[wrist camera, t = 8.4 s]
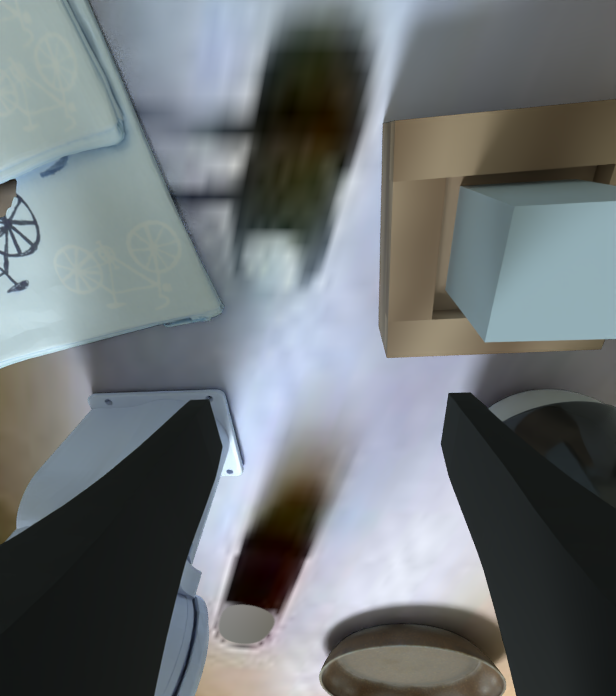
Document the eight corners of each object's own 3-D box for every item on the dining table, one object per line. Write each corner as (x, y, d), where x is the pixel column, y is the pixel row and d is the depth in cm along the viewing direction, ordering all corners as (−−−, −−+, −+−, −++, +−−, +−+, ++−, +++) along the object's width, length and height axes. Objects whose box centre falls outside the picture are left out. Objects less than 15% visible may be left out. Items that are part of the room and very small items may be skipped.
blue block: (445, 289, 17) (484, 342, 13) (460, 185, 15) (514, 206, 10) (544, 286, 16) (621, 338, 12) (576, 178, 14) (683, 197, 10)
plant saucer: (311, 675, 49) (310, 709, 46) (331, 601, 38) (332, 639, 35) (461, 692, 49) (469, 726, 46) (523, 622, 38) (538, 662, 35)
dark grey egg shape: (618, 344, 21) (1122, 705, 7) (595, 466, 26) (874, 811, 12) (436, 377, 22) (587, 714, 9) (448, 485, 27) (557, 803, 14)
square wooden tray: (378, 325, 21) (386, 357, 18) (382, 123, 16) (395, 120, 13) (560, 317, 20) (601, 349, 17) (626, 100, 15) (701, 90, 12)
